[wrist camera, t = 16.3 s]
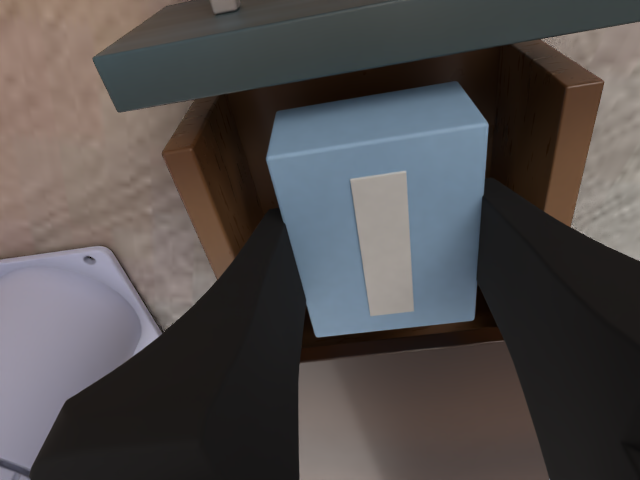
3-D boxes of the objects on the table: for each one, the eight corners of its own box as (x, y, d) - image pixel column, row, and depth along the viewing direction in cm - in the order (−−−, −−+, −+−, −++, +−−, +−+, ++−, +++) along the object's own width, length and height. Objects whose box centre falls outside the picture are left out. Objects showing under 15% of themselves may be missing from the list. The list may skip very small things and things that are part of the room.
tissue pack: (316, 277, 15) (315, 341, 13) (275, 110, 11) (264, 159, 9) (453, 261, 14) (476, 323, 12) (458, 79, 11) (491, 124, 8)
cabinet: (240, 239, 20) (208, 371, 14) (518, 201, 18) (602, 331, 13) (301, 406, 28) (297, 529, 23) (493, 389, 27) (537, 514, 22)
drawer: (51, -318, 9) (-179, -500, 5) (594, -479, 8) (900, -900, 4) (271, 305, 21) (258, 407, 17) (502, 278, 20) (551, 380, 16)
